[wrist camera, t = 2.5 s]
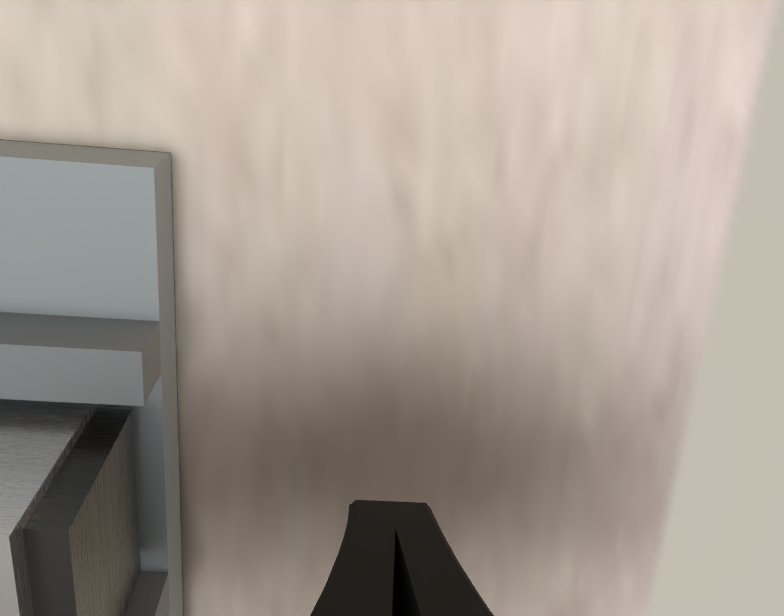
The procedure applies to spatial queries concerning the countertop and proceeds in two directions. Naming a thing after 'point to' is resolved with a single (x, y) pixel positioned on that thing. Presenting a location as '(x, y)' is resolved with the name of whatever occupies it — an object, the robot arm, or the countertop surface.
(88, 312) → the gauge board
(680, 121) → the countertop surface
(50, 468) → the grey rail carriage
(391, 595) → the robot arm
